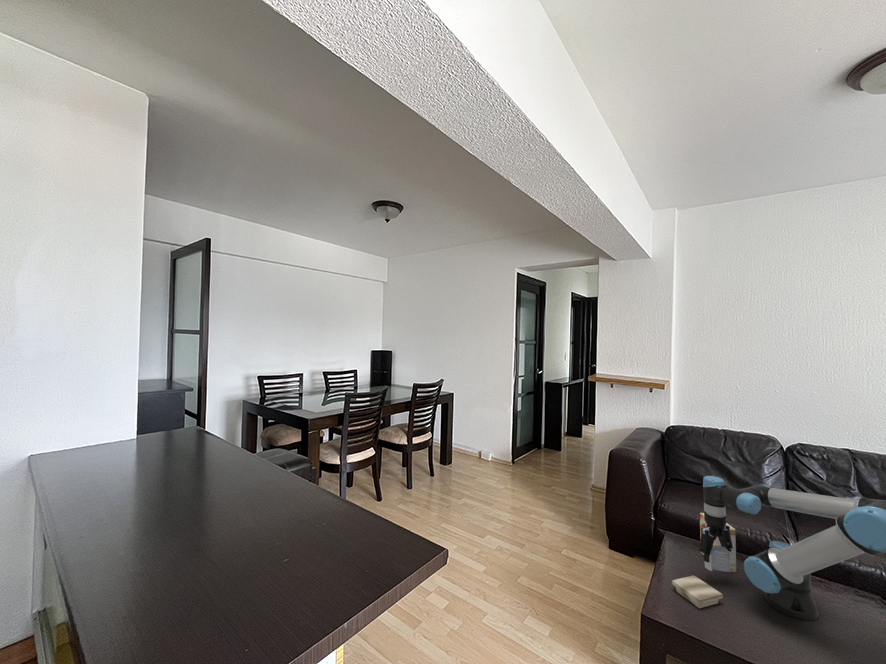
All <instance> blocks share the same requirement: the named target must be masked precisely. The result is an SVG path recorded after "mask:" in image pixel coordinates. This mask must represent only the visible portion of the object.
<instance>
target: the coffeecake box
mask: <svg viewBox="0 0 886 664" xmlns="http://www.w3.org/2000/svg"><path fill="white" fill-rule="evenodd" d="M726 525H727V526H729V527H730V536H731V541H732V546H733V548H732V549H731V548H730V549H731V550H732V551H731V552H729V556H730V572H729V573H737V543H736V528H734V527H733V526H732V525H730V524H729V523H727V522H726ZM706 526H707V523H706V521H705V520H704V512H699V530H700V531H699V532H700V534H699V535H700V537H699V540H700V541H701V528H704V529H705V528H706ZM710 536H711V535H710ZM712 537H713V536H712ZM713 545H716V546H721V544H720V541H719V539H718V537H716V540H714V543H713ZM700 554H702V556H704V553H702V552H700Z"/></svg>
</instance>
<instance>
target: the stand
mask: <svg viewBox="0 0 886 664" xmlns="http://www.w3.org/2000/svg"><path fill="white" fill-rule="evenodd" d="M671 585H673V586H674V587H675V589H676V590H675V591H676V593H678V594H679V595H681V596H682V597H683V598H684V599H686V600H687V601H688V602H690V603H692V604H693V605H695V607H697V608H698V609H703V608H706V607H710V606H713V605H717V604H719V600H721V599H723V593H722V592H720V591H718V590H717V589H716V588H713V586H711V585H709V584H708V583H707V582H705V581H703V580H702V579H700V578H699V577H697V576H695V575H694V574H693V575H688V576H686V577H681V578H676V579H672V580H671Z"/></svg>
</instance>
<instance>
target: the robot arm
mask: <svg viewBox="0 0 886 664" xmlns="http://www.w3.org/2000/svg"><path fill="white" fill-rule="evenodd" d="M702 491H703V513H704V520H705V521H706V523H707V526H706V528H705V529H704V528H701V541H700V543H699V552H700V553H701V552H702V553H704V555H703V560H704V561H703V562H704V568H705V569H706V570H708V571H710V572H713V570H712V555H711V554H710V553H711V550H712V546H713V543H714V540H716V537H718V539H719V541H720V544H721V546H722V547H725V548H726V549H727V550H728V551H729V552H731V551H732V550H731V549H732V548H733V546H732V541H731V536H730V527H729V526H727V525H726V523H727V517H726V516H727V509H726V506H727V507H731V508H733V509H736V510H739V511H741V512H743V513H746V514H749V515H757V514H759V512H760V511H761V508H762V506H763V507H768V508H769V507H770V508H774V509H780V510H784V511H785V510H786V511H790V512H796V513H801V514H807V515H813V516H817V517H818V516H819V517H823V518H829V519H833V520H835V525H833V526H830V527H828V528H826V529H824V530H822V531H819V532H818V533H815V534H812V535H811V536H808V537H806V538H803V539H802V540H799V541H797V542H794V543H792V544H790V543H788V542H787V543H786V542H783V541H779V540H778V541H777V540H772V541H770V542H769V544H768V547H769V548H768V549H765V550H764V551H761V552H758V553H757V554H755V555H750V556H748V557H747V558H745V560H744V562H743V567H744V568H743V570H744V572H745V573H744V574H745V575H746V577H747V578H748V579H749V581H750V582H751V583H752V585H754V586H755V587H756V588H757V589H759V590H761V591H762V592H764V599H765V601H766V602H767V603H768V604H769V605H770V606H771V607H772V608H774V609H775V610H777V611H778V612H779V611H780V612H781V613H783V614H785V615H787V616H789V617H792V618H795V619H799V620H803V621H808V622H809V621H816V620H818V619H819V608H818V606H817V604H816V601H815V599H814V596H813V594H812V573H815V572H817V571H820V570H823V569H826V568H828V567H831V566H833V565H836V564H838V563H839V564H840V563H842V562H844V561H846V560H849V559H852V558H855V557H857V556H861V555H862V554H866V555H868V556H871V557H877V556H880V555H883V554H885V553H886V499H878V498H877V499H875V498H869V497H868V498H867V497H859V498H858V499H854V498H847V497H838V496H832V495H826V494H818V493H810V492H802V491H796V490H791V489H790V490H788V489H784V488H783V489H782V488H774V487H771V486H768V485H766V484H755V485H752V486H748V487H743V488H739V489H738V488H734V487H730V486H727V485H726V483H725V480H724V479H723V478H722V477H720V476H715V475H705V476H704V477H703V478H702ZM710 535H711V536H710ZM712 536H713V537H712ZM730 548H731V549H730ZM702 553H701V554H702Z"/></svg>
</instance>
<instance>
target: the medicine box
mask: <svg viewBox="0 0 886 664" xmlns="http://www.w3.org/2000/svg"><path fill="white" fill-rule="evenodd" d="M710 554H711V555H712V571H713V570H714V571H720V572H725V573H731V572H730V556H729V551H728V550H727V549H726V548H725V547H722V546H716V545H713V546H712V550H711V553H710Z"/></svg>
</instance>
